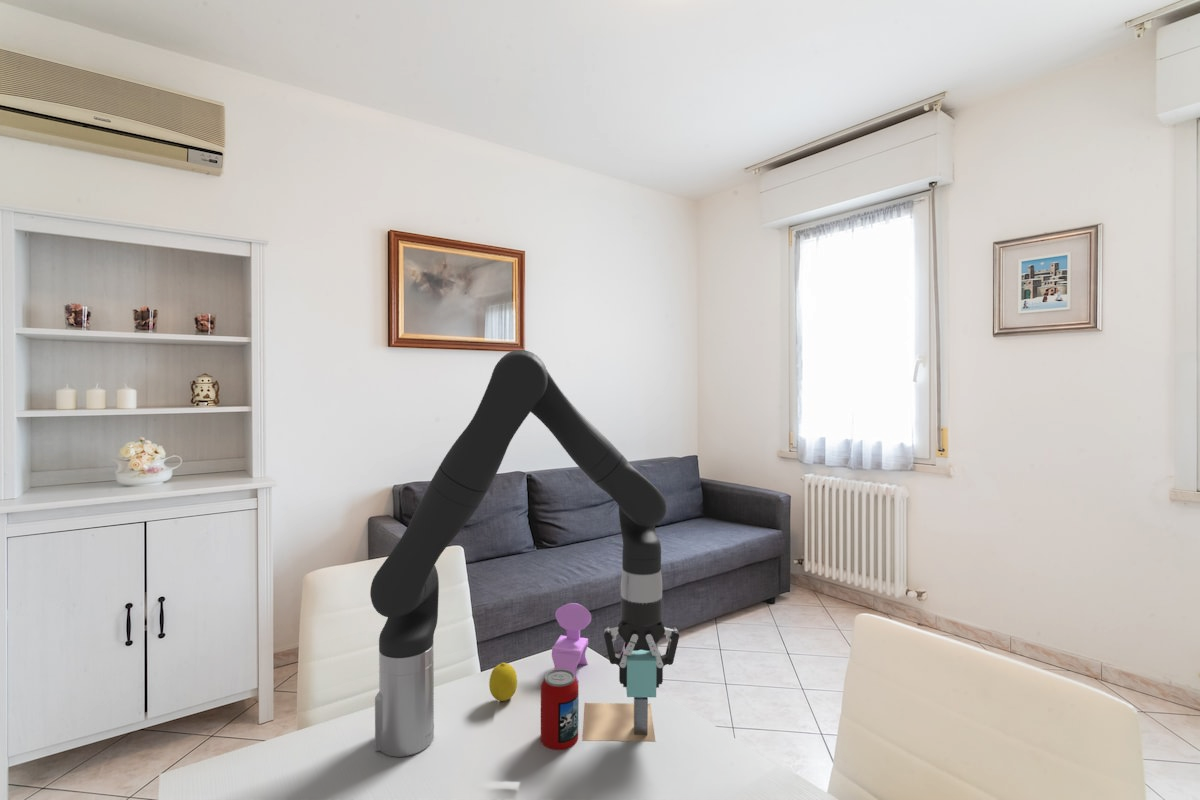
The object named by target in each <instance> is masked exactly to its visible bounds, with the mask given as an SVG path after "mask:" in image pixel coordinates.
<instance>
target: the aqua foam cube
mask: <svg viewBox="0 0 1200 800" xmlns="http://www.w3.org/2000/svg"><path fill="white" fill-rule="evenodd" d="M656 662H657V661H656V657H654V658H653V655H652V653H651V650H650V651H645V650H638V651H632V654H631V656H630V657H627V687H625V688H626V698H634V697H648V698H657V688H656Z"/></svg>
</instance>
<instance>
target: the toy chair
mask: <svg viewBox="0 0 1200 800" xmlns="http://www.w3.org/2000/svg"><path fill="white" fill-rule="evenodd" d="M554 615H555V619H556V621H557V623H558V624H559V625H558V626H559V627H561V628H562V629H564V630H565V631H566V635H562V634H560V636H559V637H558V639H557V640H556V642H555V643H554V644H553V646H552V648H551V658H552V662H553V665H554V666H553V667H554V670H557V669H565V670H569V671H571V672H572V673H573V674H574V675H575V679H576V680H577V682H578V683H579V682H580V681H579V679H578V676H577V668H578V665H586V666H588V665H589V663H588V660H587V658H586V651H587V649H588V646H589V638H587V637H581V631H582V630H585V629H586V627H588V625H589V624H590V623H591V622H592V614H591V612H590V611H589V610H588V609H587V608H586V607H585V606H583V605H581V604H580V603H576V602H571V603H566V604H564V605H561V606H560V607H558V608H557V609H556V611H555V613H554Z"/></svg>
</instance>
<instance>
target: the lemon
mask: <svg viewBox="0 0 1200 800" xmlns="http://www.w3.org/2000/svg"><path fill="white" fill-rule="evenodd" d="M517 677H518V676H517V672H516V670H515V669H514V667H513V666H512V665H510V664H509V663H506V662H501V663H499V664H497V665H496V666H495V667H494V668H493V669H492V671H491V674H490V676H489V682H488V686H489V691H490V694H491V696H492V697H493V698H494V699H495V700H497V701H500V702H505V701H508V700H510V699H511V698H512V697H513V696H514V695H515V693H516V690H517V687H518V678H517Z"/></svg>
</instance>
